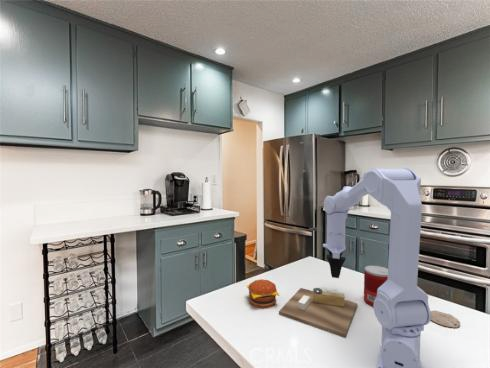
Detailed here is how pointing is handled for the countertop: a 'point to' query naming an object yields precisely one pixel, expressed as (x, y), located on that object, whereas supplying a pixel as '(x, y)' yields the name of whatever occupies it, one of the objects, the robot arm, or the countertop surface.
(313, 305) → the plate
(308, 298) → the white rectangular block
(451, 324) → the flatbread
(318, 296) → the bar
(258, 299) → the hamburger
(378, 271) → the canned food
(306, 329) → the countertop surface
